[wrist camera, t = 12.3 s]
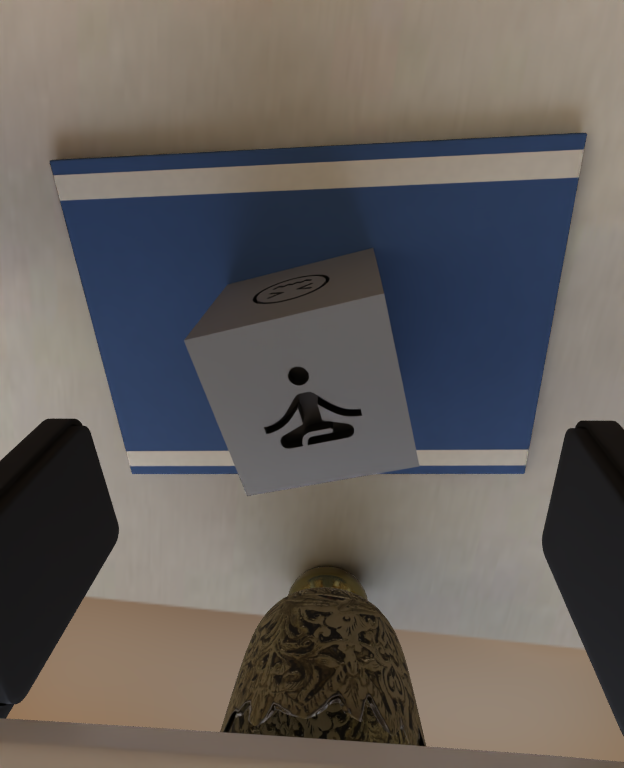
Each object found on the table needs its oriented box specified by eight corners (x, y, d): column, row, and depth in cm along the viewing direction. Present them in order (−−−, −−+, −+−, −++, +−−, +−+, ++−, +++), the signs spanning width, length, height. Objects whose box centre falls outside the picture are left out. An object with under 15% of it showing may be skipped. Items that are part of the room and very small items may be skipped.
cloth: (581, 132, 14) (587, 132, 14) (521, 467, 20) (524, 474, 19) (55, 159, 15) (48, 160, 15) (135, 468, 21) (131, 474, 21)
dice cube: (270, 409, 19) (247, 496, 14) (227, 284, 17) (183, 340, 12) (401, 383, 18) (419, 466, 13) (373, 247, 16) (383, 293, 11)
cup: (332, 657, 26) (326, 856, 19) (220, 586, 24) (167, 778, 17) (439, 587, 23) (481, 790, 16) (323, 501, 21) (311, 688, 14)
